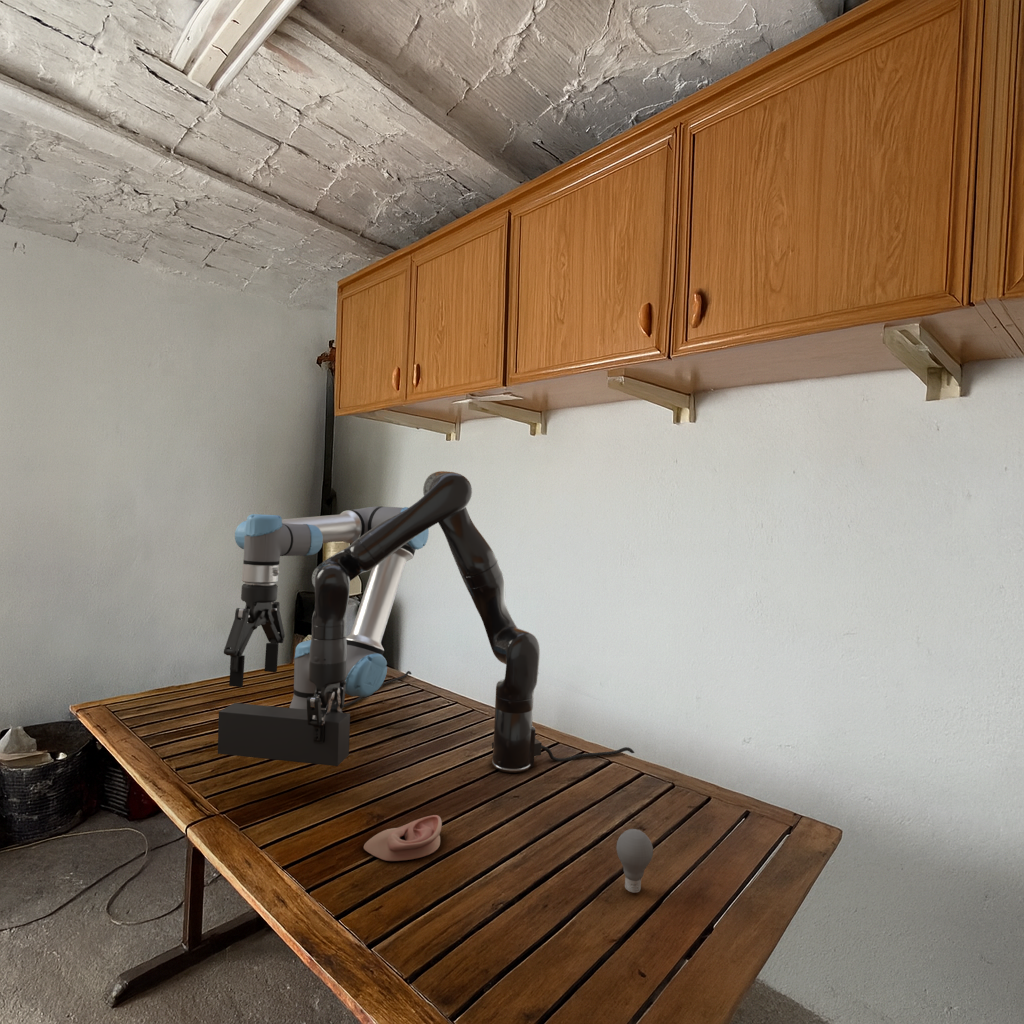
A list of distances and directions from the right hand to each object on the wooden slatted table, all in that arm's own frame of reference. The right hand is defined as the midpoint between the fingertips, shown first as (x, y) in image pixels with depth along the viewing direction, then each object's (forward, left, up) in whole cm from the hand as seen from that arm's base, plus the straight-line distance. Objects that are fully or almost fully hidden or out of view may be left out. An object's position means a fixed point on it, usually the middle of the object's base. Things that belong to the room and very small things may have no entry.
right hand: (325, 737), depth 133 cm
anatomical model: (-10, +24, -13) cm, 29 cm away
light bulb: (-40, +52, -13) cm, 67 cm away
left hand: (+13, -16, +9) cm, 23 cm away
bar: (+8, -5, -5) cm, 10 cm away
